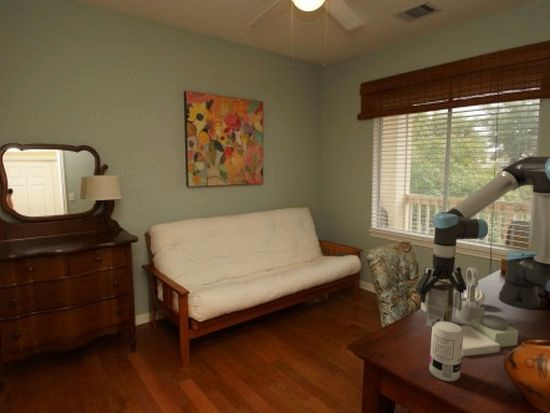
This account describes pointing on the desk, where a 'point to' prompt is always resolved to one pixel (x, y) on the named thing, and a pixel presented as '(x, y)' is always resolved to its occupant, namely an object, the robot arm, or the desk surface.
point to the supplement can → (446, 351)
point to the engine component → (470, 299)
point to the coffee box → (440, 303)
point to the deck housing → (487, 335)
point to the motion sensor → (478, 296)
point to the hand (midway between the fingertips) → (439, 308)
